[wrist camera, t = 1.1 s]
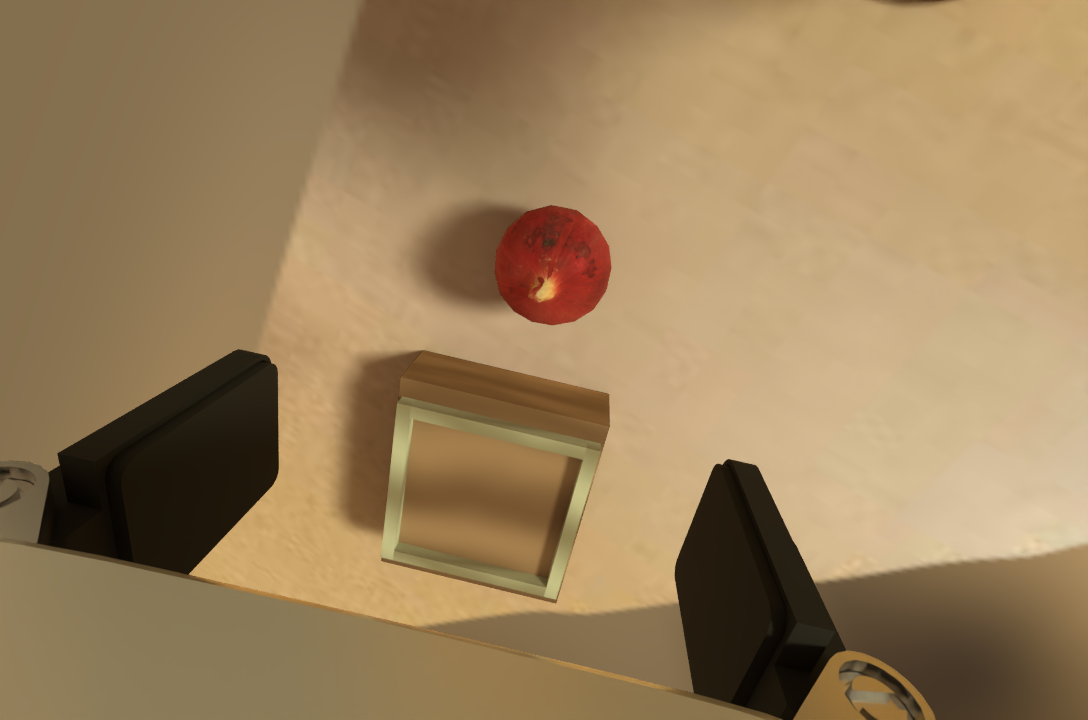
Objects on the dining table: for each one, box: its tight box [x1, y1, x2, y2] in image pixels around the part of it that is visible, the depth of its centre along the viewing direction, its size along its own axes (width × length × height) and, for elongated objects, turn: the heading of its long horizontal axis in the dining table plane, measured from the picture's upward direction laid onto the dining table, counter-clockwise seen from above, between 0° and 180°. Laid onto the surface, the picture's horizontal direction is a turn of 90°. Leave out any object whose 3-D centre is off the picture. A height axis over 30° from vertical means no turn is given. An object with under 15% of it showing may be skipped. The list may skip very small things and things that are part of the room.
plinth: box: [381, 350, 610, 603], centre depth 34 cm, size 14×12×5 cm
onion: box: [495, 205, 611, 325], centre depth 26 cm, size 6×6×8 cm
